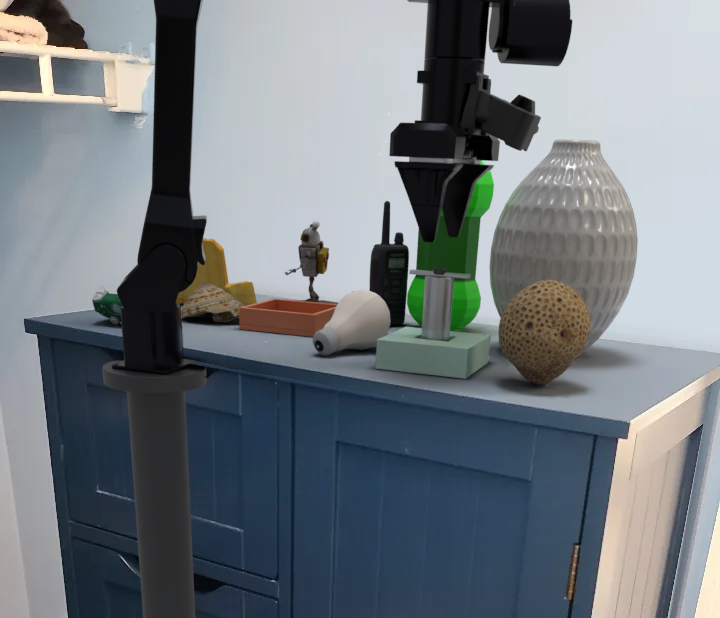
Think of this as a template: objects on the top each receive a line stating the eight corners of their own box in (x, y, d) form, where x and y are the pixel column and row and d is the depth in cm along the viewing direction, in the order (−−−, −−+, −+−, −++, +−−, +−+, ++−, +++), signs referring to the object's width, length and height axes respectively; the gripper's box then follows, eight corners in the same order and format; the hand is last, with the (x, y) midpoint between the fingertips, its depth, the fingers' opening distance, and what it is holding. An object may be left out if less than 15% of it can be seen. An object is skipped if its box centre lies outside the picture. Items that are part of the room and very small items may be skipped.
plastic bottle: (495, 330, 125) (517, 114, 114) (449, 339, 118) (467, 109, 106) (434, 321, 131) (449, 114, 119) (386, 328, 123) (397, 108, 112)
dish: (314, 337, 115) (314, 314, 114) (239, 329, 118) (238, 307, 117) (344, 325, 124) (345, 304, 123) (274, 318, 127) (274, 298, 126)
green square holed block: (465, 379, 97) (468, 348, 95) (375, 368, 100) (376, 339, 98) (488, 362, 105) (490, 334, 104) (404, 353, 108) (405, 326, 106)
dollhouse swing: (259, 304, 138) (259, 236, 134) (225, 312, 130) (223, 240, 126) (198, 298, 142) (195, 231, 138) (161, 305, 134) (157, 234, 130)
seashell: (223, 309, 118) (177, 277, 120) (211, 350, 121) (166, 317, 123) (263, 302, 124) (219, 272, 126) (251, 341, 127) (208, 311, 129)
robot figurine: (292, 304, 139) (293, 215, 134) (354, 309, 138) (357, 219, 132) (271, 315, 130) (271, 219, 124) (337, 319, 128) (340, 223, 123)
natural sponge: (570, 399, 90) (586, 288, 86) (480, 388, 93) (491, 280, 88) (588, 382, 98) (603, 279, 93) (505, 372, 101) (515, 272, 96)
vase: (646, 356, 112) (682, 144, 102) (570, 372, 102) (601, 138, 92) (534, 336, 122) (556, 141, 112) (453, 349, 112) (470, 135, 101)
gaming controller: (104, 334, 121) (80, 304, 116) (114, 309, 122) (91, 278, 117) (166, 341, 118) (144, 310, 113) (176, 316, 119) (155, 284, 114)
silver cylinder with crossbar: (458, 371, 100) (466, 271, 96) (400, 365, 102) (406, 266, 97) (465, 366, 103) (474, 269, 98) (409, 360, 104) (415, 264, 100)
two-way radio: (378, 328, 123) (384, 201, 117) (357, 323, 126) (361, 199, 120) (410, 325, 127) (417, 201, 120) (389, 320, 130) (395, 199, 123)
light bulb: (306, 376, 108) (367, 338, 114) (348, 374, 103) (408, 335, 109) (287, 319, 104) (351, 283, 110) (329, 314, 100) (393, 278, 106)
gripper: (518, 50, 79) (498, 251, 86) (556, 71, 95) (537, 239, 102) (392, 49, 83) (383, 243, 90) (449, 69, 98) (438, 232, 105)
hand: (441, 239), depth 97 cm, fingers open, 9 cm apart
